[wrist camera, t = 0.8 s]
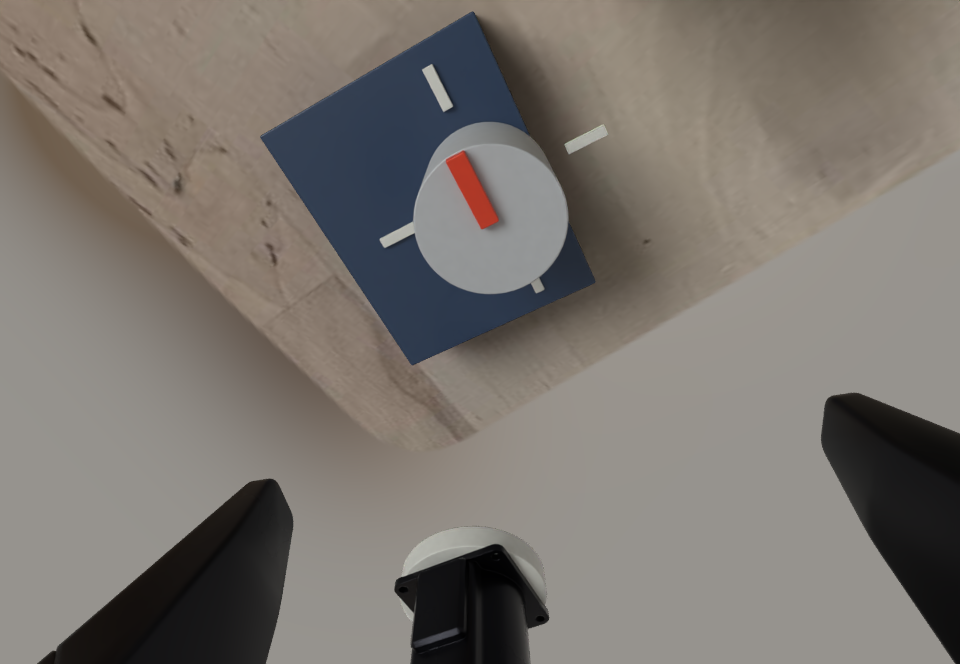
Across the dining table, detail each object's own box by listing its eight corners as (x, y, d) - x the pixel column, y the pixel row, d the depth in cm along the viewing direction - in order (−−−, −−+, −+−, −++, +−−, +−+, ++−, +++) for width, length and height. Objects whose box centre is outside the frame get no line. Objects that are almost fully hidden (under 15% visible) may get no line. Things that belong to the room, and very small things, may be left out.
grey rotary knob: (572, 215, 20) (594, 259, 16) (462, 269, 21) (458, 322, 17) (519, 96, 18) (529, 114, 15) (401, 160, 19) (382, 193, 16)
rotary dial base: (635, 230, 24) (656, 258, 21) (418, 331, 26) (411, 368, 23) (534, -23, 19) (543, -31, 17) (285, 123, 22) (257, 137, 19)
